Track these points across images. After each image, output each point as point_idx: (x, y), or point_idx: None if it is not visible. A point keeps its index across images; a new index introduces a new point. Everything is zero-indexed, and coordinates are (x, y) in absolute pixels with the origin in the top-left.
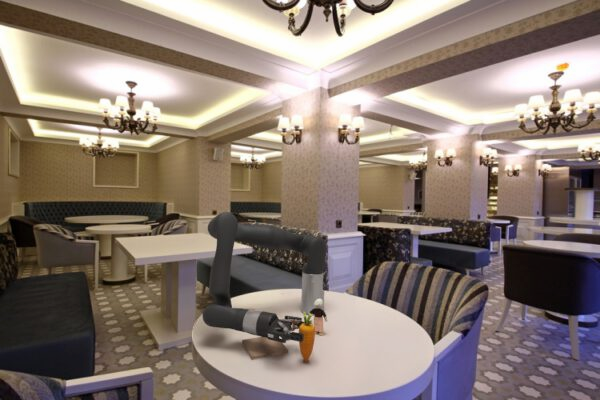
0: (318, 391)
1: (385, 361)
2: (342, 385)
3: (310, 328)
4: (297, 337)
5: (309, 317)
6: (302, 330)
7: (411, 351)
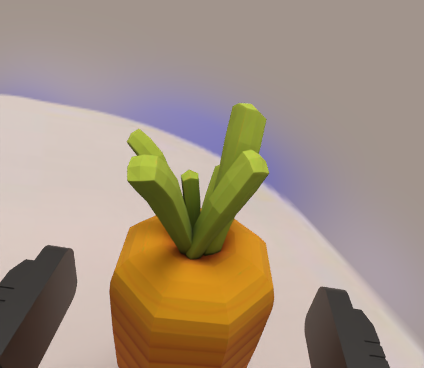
0: (375, 315)
1: (109, 161)
2: (290, 250)
3: (240, 224)
4: (373, 340)
5: (257, 143)
6: (272, 294)
7: (45, 119)
